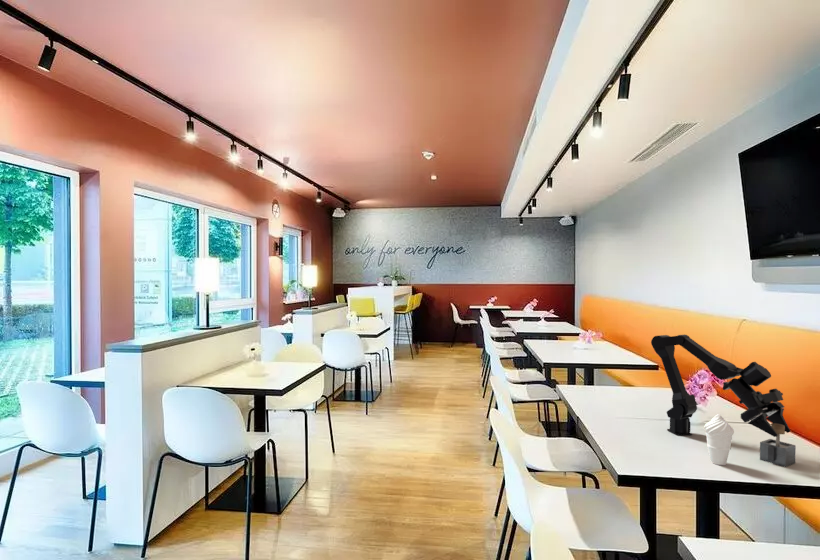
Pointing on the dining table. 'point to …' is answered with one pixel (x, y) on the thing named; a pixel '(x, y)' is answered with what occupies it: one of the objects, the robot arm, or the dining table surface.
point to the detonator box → (777, 453)
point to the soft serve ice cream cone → (718, 439)
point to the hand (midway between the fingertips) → (782, 434)
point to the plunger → (778, 433)
